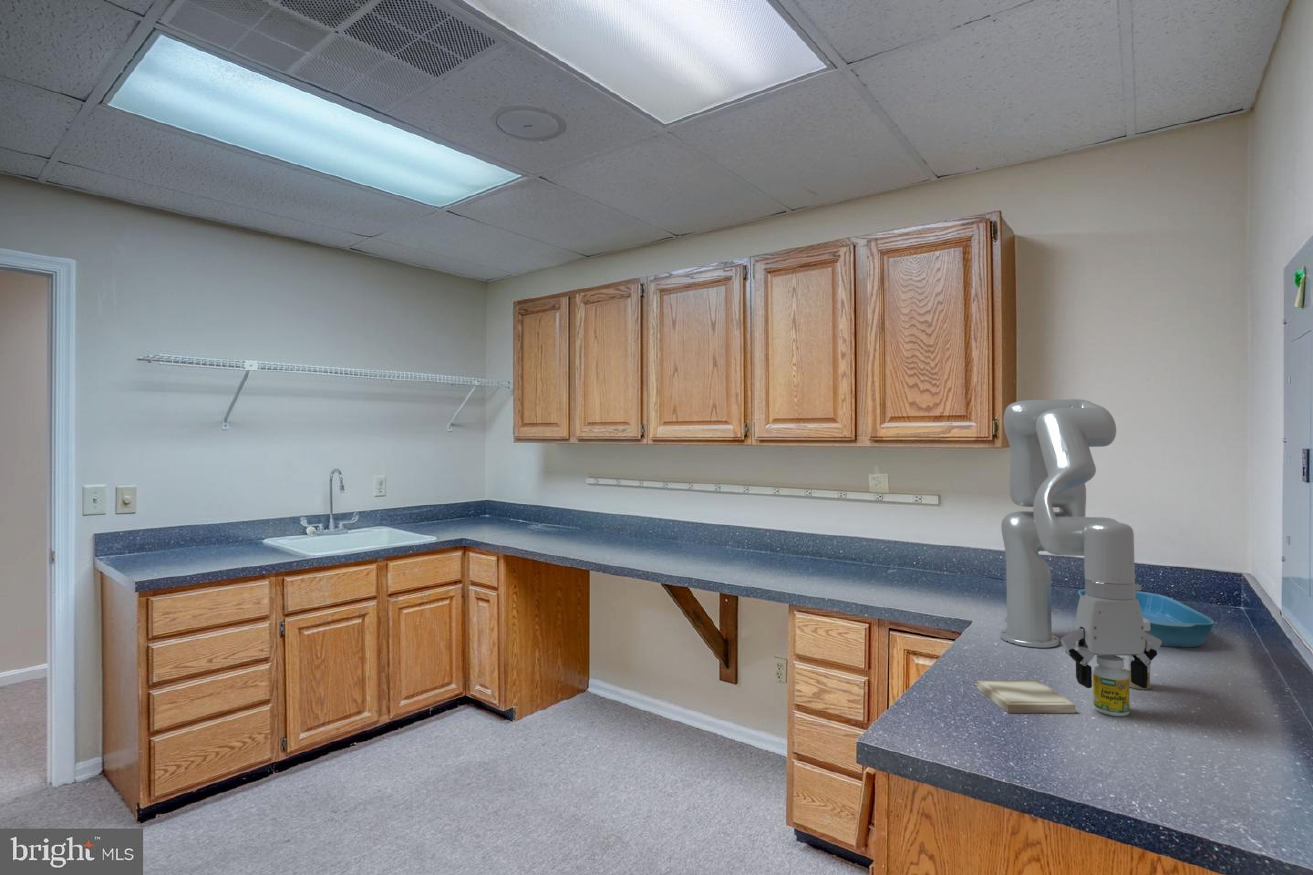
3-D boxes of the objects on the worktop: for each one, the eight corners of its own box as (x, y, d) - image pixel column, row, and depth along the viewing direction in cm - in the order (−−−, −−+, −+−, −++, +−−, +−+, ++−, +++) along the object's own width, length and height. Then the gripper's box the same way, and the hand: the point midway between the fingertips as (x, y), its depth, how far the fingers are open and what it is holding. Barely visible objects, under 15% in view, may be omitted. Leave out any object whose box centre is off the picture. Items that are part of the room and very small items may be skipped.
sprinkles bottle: (1124, 680, 133) (1123, 614, 133) (1152, 685, 130) (1151, 618, 130) (1121, 686, 129) (1120, 618, 130) (1149, 692, 126) (1148, 623, 126)
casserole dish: (1233, 657, 147) (1233, 625, 147) (1119, 649, 153) (1119, 619, 153) (1157, 615, 182) (1157, 589, 183) (1067, 610, 189) (1067, 585, 189)
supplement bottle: (1124, 707, 119) (1123, 654, 120) (1134, 719, 114) (1133, 663, 114) (1089, 703, 121) (1088, 651, 122) (1097, 714, 116) (1096, 660, 116)
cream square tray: (976, 687, 129) (976, 679, 129) (1038, 687, 129) (1037, 679, 129) (1007, 712, 117) (1007, 703, 117) (1075, 712, 117) (1075, 703, 117)
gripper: (1143, 586, 122) (1145, 678, 121) (1049, 586, 122) (1051, 678, 122) (1174, 595, 114) (1176, 693, 114) (1073, 595, 114) (1076, 693, 114)
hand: (1111, 685), depth 118 cm, fingers open, 9 cm apart
